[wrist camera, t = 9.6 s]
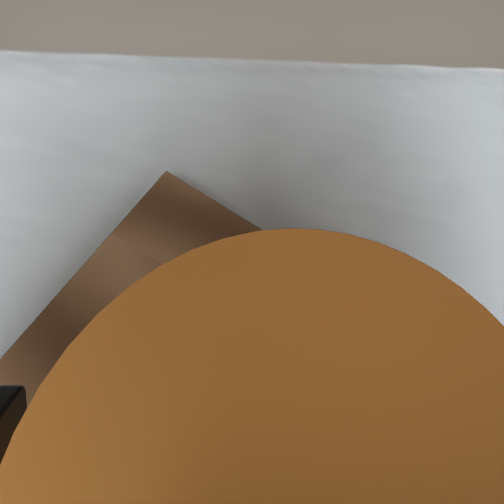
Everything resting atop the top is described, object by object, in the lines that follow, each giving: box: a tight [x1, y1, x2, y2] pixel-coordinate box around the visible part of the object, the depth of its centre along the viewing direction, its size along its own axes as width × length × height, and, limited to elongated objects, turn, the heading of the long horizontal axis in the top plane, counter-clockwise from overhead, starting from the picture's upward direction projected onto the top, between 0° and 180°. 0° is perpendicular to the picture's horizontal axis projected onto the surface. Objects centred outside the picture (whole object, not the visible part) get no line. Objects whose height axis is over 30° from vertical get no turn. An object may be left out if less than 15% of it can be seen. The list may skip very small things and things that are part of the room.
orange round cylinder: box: [0, 228, 504, 504], centre depth 10 cm, size 6×6×14 cm
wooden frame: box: [0, 171, 263, 408], centre depth 14 cm, size 22×16×2 cm
